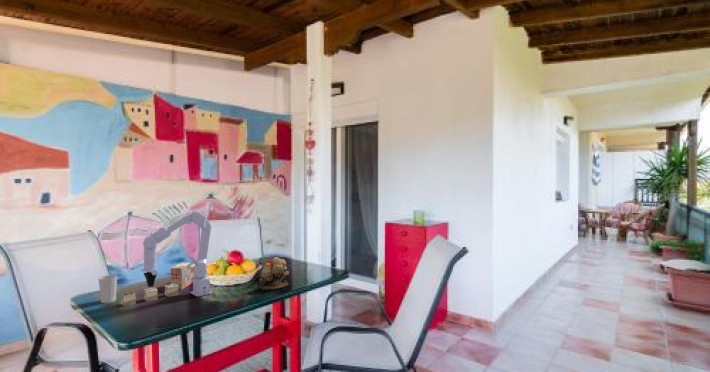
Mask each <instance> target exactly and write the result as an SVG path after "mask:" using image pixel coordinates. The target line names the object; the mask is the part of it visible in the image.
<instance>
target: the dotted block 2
mask: <svg viewBox="0 0 710 372" xmlns="http://www.w3.org/2000/svg"><path fill="white" fill-rule="evenodd" d="M164 295H165V296H166V297H168V298H169V297H174V296H178V295H179V289H178V285H176V284H171V283H170V284H166V285H164Z"/></svg>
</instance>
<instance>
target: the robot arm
mask: <svg viewBox="0 0 710 372" xmlns="http://www.w3.org/2000/svg"><path fill="white" fill-rule="evenodd" d="M187 224H195V225H197V226H198V227H199V228H200V230H201V231H200V238H199V245H198V252H197V257H196V262H195V263H194V264H195V266H194V274H195V275H194V276H193V283H192V291H189V292H190V294H192V295H194V296H195V297H201V296H202V297H203V296H207V295H211V294H213V293H212V291H211V281H210V280H209V278H208V277H209V276H208V274H207V273H208V269H207V258H208V250H209V244H210V237H211V232H212V231H211V230H212V225H211V224H210V221H209V220H208V218H207V216H206V215H205V214H204V213H203V211H200V210H198V209H197V210H193V211H192V212H190V213H188V214H186V215H184V216H183V217H181V218H180V219H178V220H177V221H174V223H172V224H171V225H169V226H163V227H161V226H160V227H159V228H158V230H156V231H155V232H153V233H150V234H149V235H148V236H146V237H145V238H144V240H143V242H142V243H143V245H142V246H143V268H142V269H141V272H143V276H144V278H145V280H146V284H147V287H148V288H153V287H154V285H155V281H156V278H157V276H158V274H159V273H158V266H157V265H158V262H157V261H158V260H157V259H158V258H157V254H158V253H157V252H158V251H157V244H159V243H162V242H163V241H165V240H166V239H168V238H169V237H172V232H175V231H176V230H177V229H179V228H181V227H182V226H184V225H187Z"/></svg>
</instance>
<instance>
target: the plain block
mask: <svg viewBox="0 0 710 372" xmlns="http://www.w3.org/2000/svg"><path fill="white" fill-rule="evenodd" d="M158 297H159V293H158V289H157V288H156V287H154V286H153V287H148V288H145V289H143V299H145V300H144V301H146V302H151V301H155V300H158V299H159V298H158Z"/></svg>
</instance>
